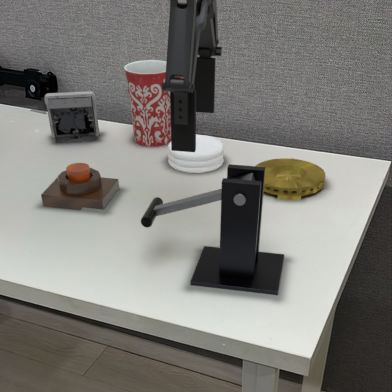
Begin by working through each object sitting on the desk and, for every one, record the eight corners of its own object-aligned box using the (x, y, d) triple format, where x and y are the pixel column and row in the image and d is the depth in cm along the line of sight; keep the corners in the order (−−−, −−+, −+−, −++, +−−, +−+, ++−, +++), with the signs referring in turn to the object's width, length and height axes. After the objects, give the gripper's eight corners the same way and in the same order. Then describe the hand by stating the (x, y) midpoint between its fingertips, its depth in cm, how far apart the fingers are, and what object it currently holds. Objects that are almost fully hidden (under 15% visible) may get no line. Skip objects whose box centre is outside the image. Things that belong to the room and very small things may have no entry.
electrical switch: (100, 134, 112) (94, 87, 106) (101, 147, 109) (95, 98, 102) (52, 137, 111) (43, 90, 105) (52, 150, 108) (43, 101, 101)
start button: (64, 181, 87) (62, 170, 86) (72, 172, 90) (71, 161, 89) (86, 183, 86) (84, 172, 85) (94, 174, 89) (92, 163, 88)
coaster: (191, 179, 96) (191, 159, 94) (157, 161, 102) (156, 142, 100) (234, 164, 101) (235, 145, 99) (199, 148, 107) (199, 129, 104)
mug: (135, 152, 106) (130, 74, 97) (125, 135, 112) (119, 61, 103) (199, 144, 109) (199, 68, 100) (185, 128, 115) (184, 56, 106)
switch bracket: (190, 289, 71) (189, 186, 62) (204, 253, 78) (204, 155, 69) (277, 299, 69) (288, 195, 60) (283, 261, 76) (294, 162, 67)
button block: (43, 207, 88) (38, 183, 86) (62, 186, 94) (58, 163, 92) (103, 213, 87) (100, 189, 84) (119, 191, 93) (117, 168, 90)
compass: (237, 184, 95) (237, 171, 93) (283, 164, 101) (284, 152, 99) (291, 208, 88) (293, 195, 86) (338, 185, 94) (340, 173, 93)
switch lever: (144, 232, 69) (137, 214, 68) (156, 211, 73) (149, 195, 72) (254, 205, 64) (248, 186, 62) (260, 185, 68) (254, 166, 66)
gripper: (212, -78, 46) (207, 172, 60) (246, -94, 64) (237, 100, 78) (123, -79, 47) (139, 167, 61) (182, -95, 65) (184, 96, 79)
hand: (194, 129), depth 69 cm, fingers open, 13 cm apart
